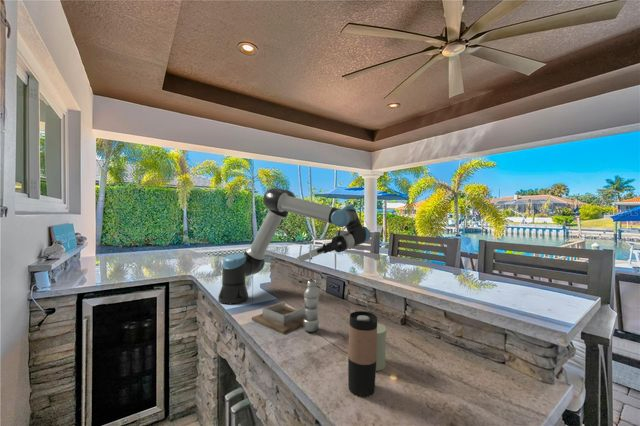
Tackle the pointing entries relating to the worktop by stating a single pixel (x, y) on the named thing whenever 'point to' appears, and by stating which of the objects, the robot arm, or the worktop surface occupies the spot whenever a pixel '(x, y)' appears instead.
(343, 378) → the worktop surface
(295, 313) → the grey square tray
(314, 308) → the plastic bottle
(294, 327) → the board
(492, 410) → the worktop surface
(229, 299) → the robot arm
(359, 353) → the travel mug
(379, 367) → the can
